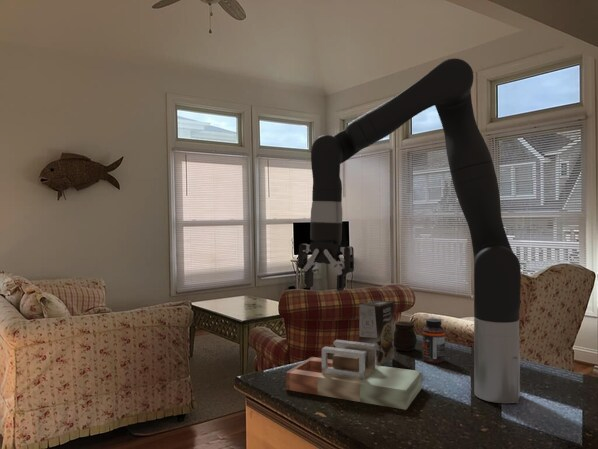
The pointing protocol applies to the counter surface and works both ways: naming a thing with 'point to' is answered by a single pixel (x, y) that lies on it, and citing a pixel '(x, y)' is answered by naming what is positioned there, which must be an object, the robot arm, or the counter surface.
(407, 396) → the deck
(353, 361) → the walnut block
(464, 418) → the counter surface
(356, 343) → the tunnel
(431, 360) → the supplement bottle
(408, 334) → the mate gourd
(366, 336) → the coffee box
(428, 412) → the counter surface
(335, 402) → the counter surface
